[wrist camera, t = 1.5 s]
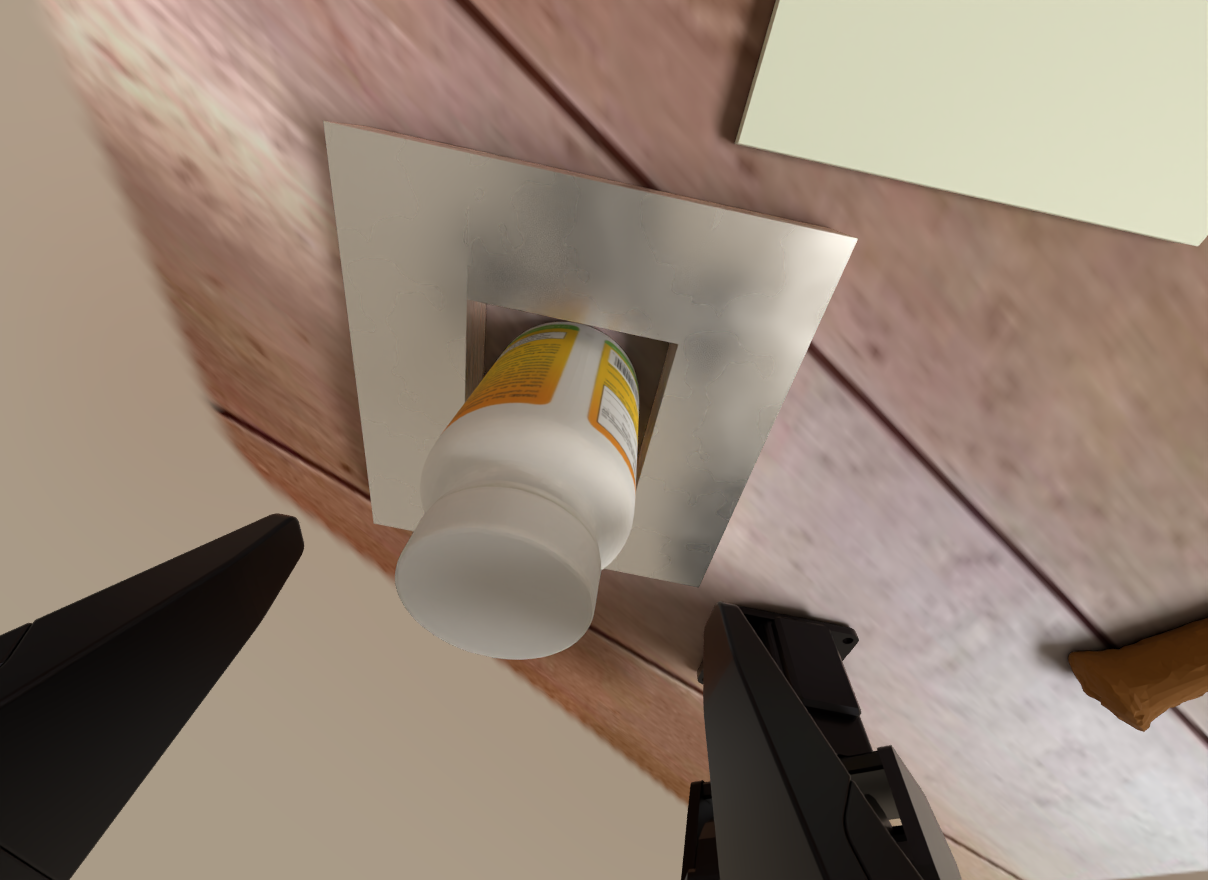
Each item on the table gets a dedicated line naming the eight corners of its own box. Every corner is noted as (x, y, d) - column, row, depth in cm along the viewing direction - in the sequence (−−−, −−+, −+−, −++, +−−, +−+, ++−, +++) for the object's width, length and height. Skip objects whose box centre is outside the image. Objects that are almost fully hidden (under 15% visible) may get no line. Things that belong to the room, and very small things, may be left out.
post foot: (694, 552, 21) (698, 587, 19) (396, 493, 20) (374, 523, 19) (831, 228, 13) (858, 238, 12) (365, 125, 13) (323, 121, 11)
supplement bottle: (481, 416, 18) (340, 632, 10) (524, 291, 15) (377, 447, 7) (604, 467, 19) (569, 706, 11) (665, 357, 16) (683, 566, 8)
